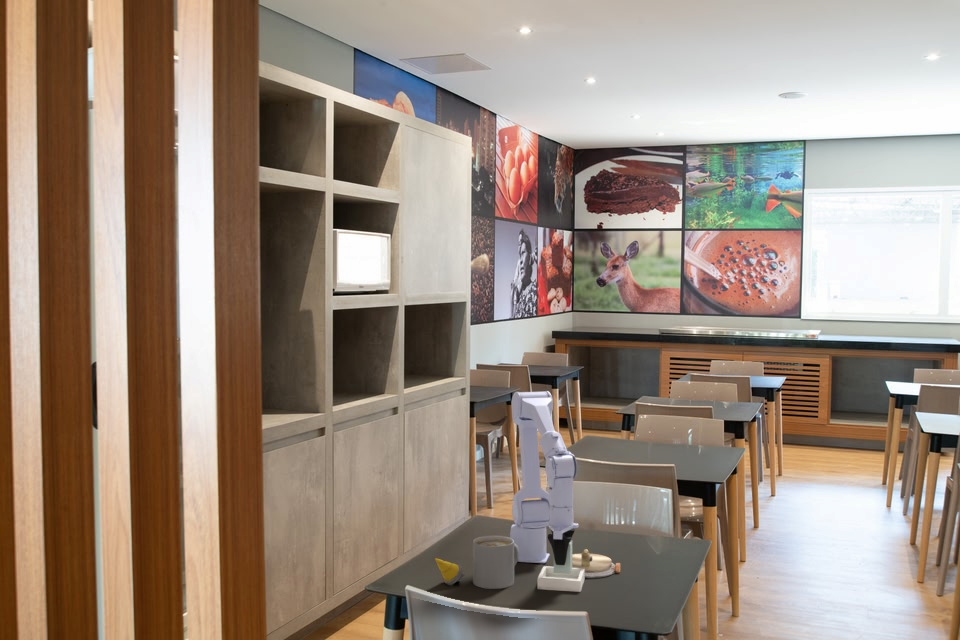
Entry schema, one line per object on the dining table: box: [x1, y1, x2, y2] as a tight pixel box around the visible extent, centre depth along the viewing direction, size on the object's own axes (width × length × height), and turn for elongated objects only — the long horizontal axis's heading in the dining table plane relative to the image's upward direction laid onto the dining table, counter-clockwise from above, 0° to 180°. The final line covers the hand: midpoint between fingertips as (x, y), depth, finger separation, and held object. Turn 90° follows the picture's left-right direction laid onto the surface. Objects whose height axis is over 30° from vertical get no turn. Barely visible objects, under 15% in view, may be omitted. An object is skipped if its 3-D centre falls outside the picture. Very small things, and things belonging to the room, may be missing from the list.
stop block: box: [553, 539, 573, 574], centre depth 209 cm, size 4×4×7 cm
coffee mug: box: [472, 535, 519, 590], centre depth 211 cm, size 13×10×10 cm
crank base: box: [585, 562, 621, 579], centre depth 220 cm, size 15×14×2 cm
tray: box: [537, 565, 586, 593], centre depth 209 cm, size 10×10×2 cm
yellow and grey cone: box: [434, 557, 465, 586], centre depth 209 cm, size 5×5×10 cm
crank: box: [572, 548, 613, 572], centre depth 220 cm, size 13×12×5 cm
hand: (561, 561), depth 209 cm, fingers closed on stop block, 4 cm apart
